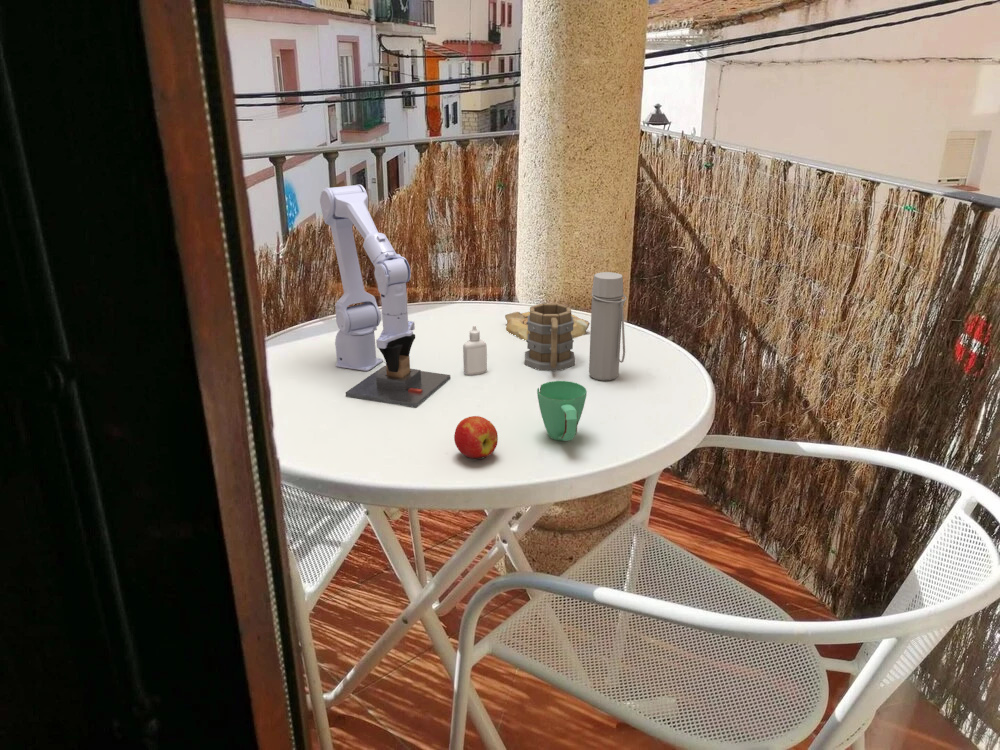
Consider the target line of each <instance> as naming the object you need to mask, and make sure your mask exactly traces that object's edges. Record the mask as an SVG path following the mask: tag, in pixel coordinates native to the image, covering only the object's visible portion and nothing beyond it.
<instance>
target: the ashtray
mask: <svg viewBox="0 0 1000 750" xmlns="http://www.w3.org/2000/svg"><path fill="white" fill-rule="evenodd" d="M529 315H530V311H527V312H522V313H521V312H520V311H515V312H510V313H508V314H505V315H504V317H505V320H506V321H507V324H506V327H505V330H506V331H508V332H509V333H508V332H507V333H508V334H510V333H511V334H510V335H512V334H513V335H512V336H514V335H516V336H517V337H516V336H515V337H516V338H518V337H519V338H518V339H520V338H521V339H520V340H522V339H524V340H523V341H525V340H528V334H530V331H528V325H527V324H526V322H528V316H529ZM571 316H572V317H573V322H574V325H573V331H571V334H572V338H573V339H575V338H578V337H582V336H584V335H585V334H586V333H587V330H588V328H589V325H591V322H589V321H588V320H585V319H583V318H579V317H578V316H576V315H574V314H572V313H571Z"/></svg>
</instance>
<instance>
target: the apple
mask: <svg viewBox="0 0 1000 750" xmlns="http://www.w3.org/2000/svg"><path fill="white" fill-rule="evenodd" d="M454 431H455V432H454V434H453V436H454V437H453V438H454V440H453V441H454V443H455V446H456V448H457V449H458V451H459V453H460V454H462V455H463V456H465V457H467V458H470V459H472V460H473V459H474V460H475V459H476V460H479V459H485V458H488V457H489V456H490V455H491V454H493V453H494V452H495V449H496V448H497V446H498V443H499V441H498V440H499V437H498V431H497V429H496V426H494V424H493V423H492V421H490V420H488V419H487V418H485V417H483V416H479V415H474V416H468V417H465V418H463V419H462V420H460V421H459V423H458V424H457V426H456V427H455V429H454Z"/></svg>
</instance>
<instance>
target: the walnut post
mask: <svg viewBox="0 0 1000 750" xmlns="http://www.w3.org/2000/svg"><path fill="white" fill-rule="evenodd" d="M410 358H411V357H410V355H409V356H404V355H400V356H399V368H398V372H390V371H389V370H388V367H387V364H386V363H385V366H386V370H387V376H390V377H397V378H404V377H405V376H407V375H408V374H409V373H410V369H411V363H410V362H411V360H410Z"/></svg>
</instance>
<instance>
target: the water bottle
mask: <svg viewBox="0 0 1000 750" xmlns="http://www.w3.org/2000/svg"><path fill="white" fill-rule="evenodd" d="M591 287H592V288H591V289H592V290H591V294H590V295H591V297H592V298H591V307H590V308H591V310H590V311H591V312H590V337H589V358H588V359H589V360H588V361H589V363H588V364H589V365H588V366H589V367H588V373H589V376H590V377H591V378H593V379H594V380H597V381H603V382H604V381H612V380H616V378H617V377H618V375H620V374H619V373H620V371H619V370H620V363H624V362H625V356H626V343H625V342H626V338H625V320H624V319H625V317H624V316H625V315H624V305H625V303H626V301H627V296H626V295H625V294H624V277H623V275H622V273H618V272H614V271H613V272H611V271H605V272H604V271H602V272H597V273H595V274H594V275H593V281H592V286H591ZM621 339H622V357H621V359H620V355H621Z"/></svg>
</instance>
